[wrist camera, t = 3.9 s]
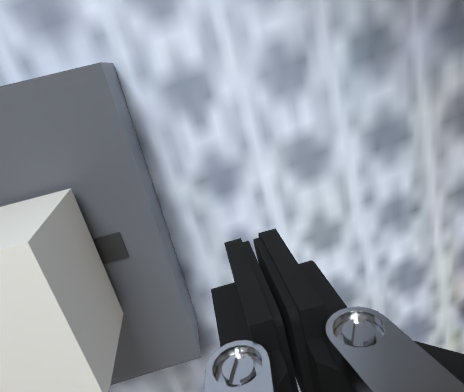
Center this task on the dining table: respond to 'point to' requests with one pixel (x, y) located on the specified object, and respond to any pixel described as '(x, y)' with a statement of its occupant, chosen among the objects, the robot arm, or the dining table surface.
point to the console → (102, 203)
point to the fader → (54, 300)
